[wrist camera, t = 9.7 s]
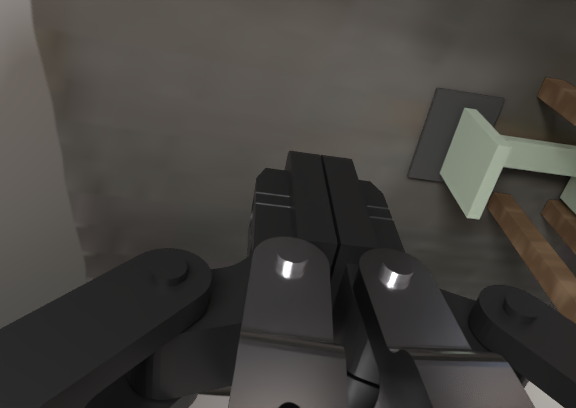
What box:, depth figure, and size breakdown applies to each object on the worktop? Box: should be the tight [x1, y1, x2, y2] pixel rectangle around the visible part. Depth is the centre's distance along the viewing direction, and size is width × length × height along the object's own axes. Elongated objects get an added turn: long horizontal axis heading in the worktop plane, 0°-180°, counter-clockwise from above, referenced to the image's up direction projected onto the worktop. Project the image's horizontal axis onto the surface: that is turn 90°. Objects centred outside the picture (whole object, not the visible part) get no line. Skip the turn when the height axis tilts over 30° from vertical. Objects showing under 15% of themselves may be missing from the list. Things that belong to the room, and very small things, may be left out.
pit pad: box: [407, 88, 505, 182], centre depth 41 cm, size 8×6×1 cm
